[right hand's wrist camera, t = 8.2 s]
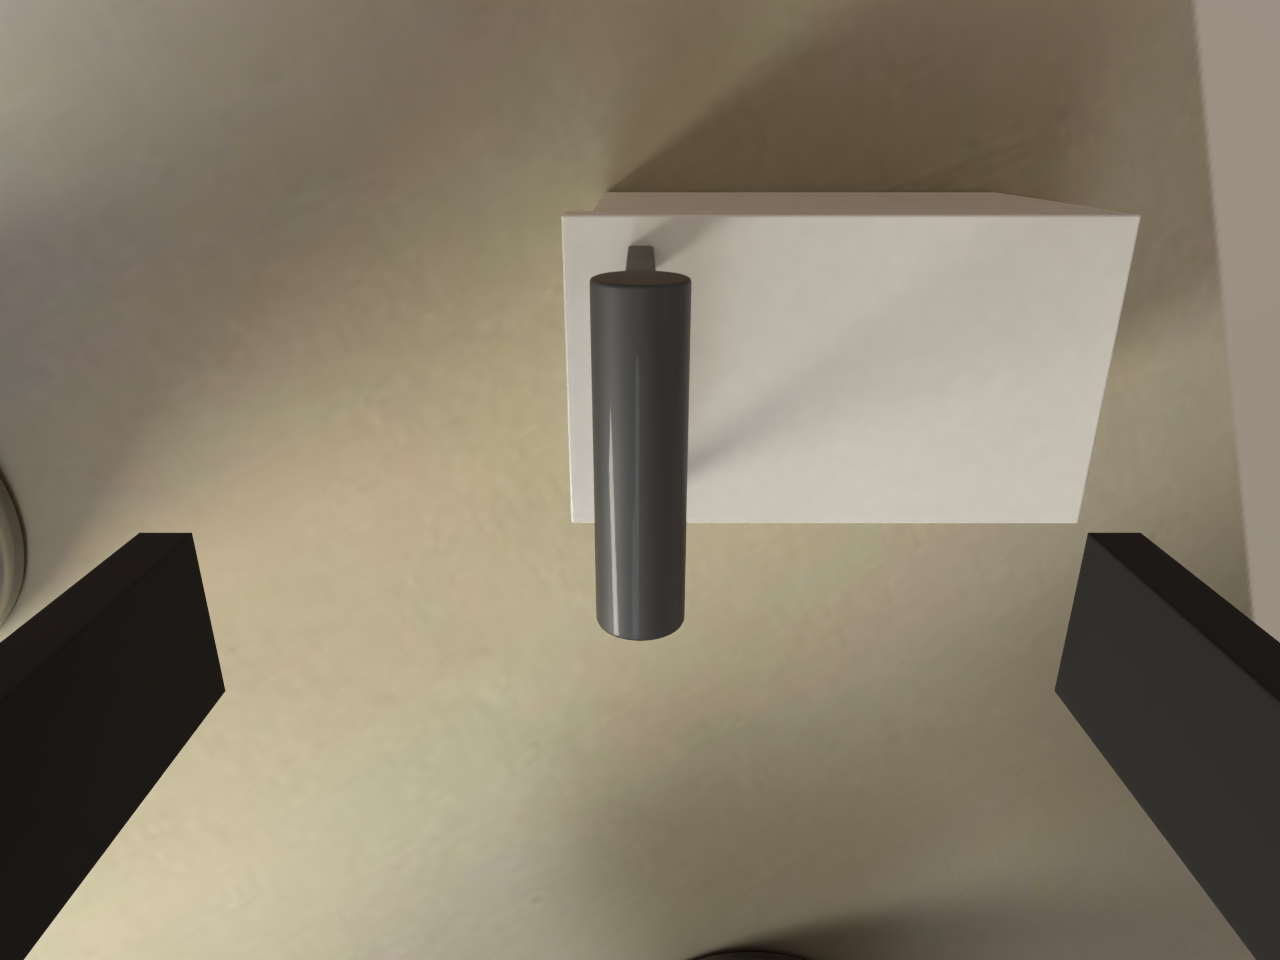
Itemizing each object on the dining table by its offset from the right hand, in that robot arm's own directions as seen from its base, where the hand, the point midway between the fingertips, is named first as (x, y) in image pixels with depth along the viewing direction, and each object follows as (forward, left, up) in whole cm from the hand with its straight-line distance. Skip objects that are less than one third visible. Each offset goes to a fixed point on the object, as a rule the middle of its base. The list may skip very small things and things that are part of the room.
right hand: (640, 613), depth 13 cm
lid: (+1, -6, -14) cm, 16 cm away
